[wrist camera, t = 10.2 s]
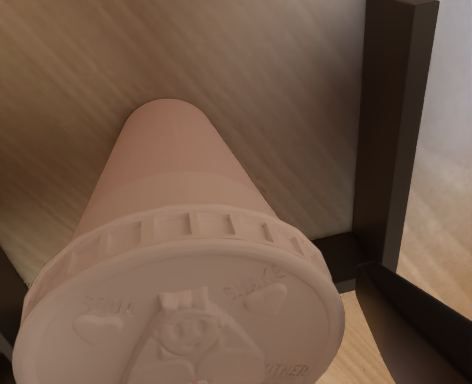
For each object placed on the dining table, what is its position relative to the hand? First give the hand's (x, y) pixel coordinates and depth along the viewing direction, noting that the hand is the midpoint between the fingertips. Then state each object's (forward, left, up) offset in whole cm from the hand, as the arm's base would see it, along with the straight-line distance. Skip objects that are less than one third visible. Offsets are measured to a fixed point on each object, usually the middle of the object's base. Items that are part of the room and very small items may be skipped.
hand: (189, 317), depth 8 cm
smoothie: (0, 0, -9) cm, 9 cm away
